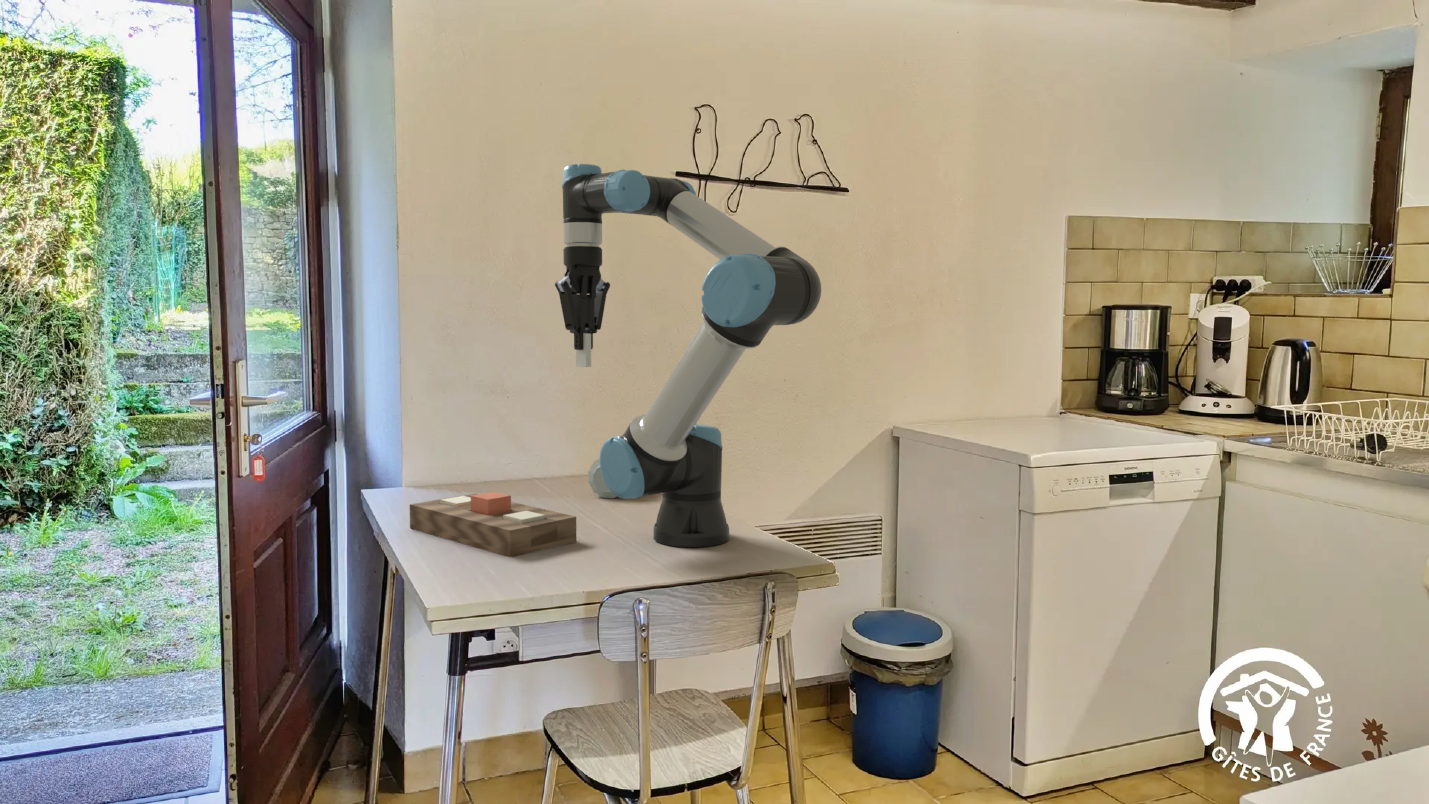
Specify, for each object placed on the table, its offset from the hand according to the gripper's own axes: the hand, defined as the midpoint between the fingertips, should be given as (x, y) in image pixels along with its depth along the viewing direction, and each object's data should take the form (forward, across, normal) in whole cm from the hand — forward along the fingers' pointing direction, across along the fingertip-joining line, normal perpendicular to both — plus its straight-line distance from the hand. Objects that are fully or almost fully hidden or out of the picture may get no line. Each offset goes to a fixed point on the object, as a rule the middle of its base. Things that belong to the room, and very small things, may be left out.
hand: (583, 366), depth 197 cm
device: (+34, -42, -29) cm, 61 cm away
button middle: (+30, +12, -14) cm, 36 cm away
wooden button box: (+34, +12, -14) cm, 39 cm away
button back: (+33, +12, -25) cm, 43 cm away
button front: (+33, +13, -4) cm, 35 cm away
